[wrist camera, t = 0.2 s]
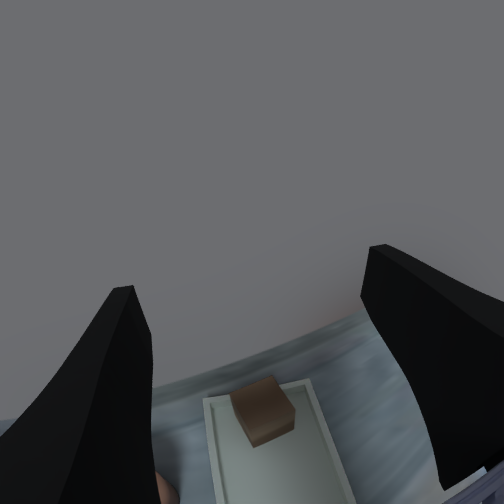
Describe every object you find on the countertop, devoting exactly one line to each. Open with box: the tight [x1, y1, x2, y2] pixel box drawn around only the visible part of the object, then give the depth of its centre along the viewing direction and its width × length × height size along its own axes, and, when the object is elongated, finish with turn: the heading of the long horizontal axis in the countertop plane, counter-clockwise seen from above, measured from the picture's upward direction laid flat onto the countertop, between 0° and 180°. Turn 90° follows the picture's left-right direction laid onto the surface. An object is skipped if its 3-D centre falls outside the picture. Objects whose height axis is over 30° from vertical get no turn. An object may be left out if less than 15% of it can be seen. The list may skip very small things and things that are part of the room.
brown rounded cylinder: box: [155, 471, 179, 504], centre depth 17 cm, size 5×5×6 cm
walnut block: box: [229, 375, 296, 448], centre depth 24 cm, size 4×4×4 cm
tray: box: [203, 378, 357, 504], centre depth 21 cm, size 17×10×2 cm, turn 10°
